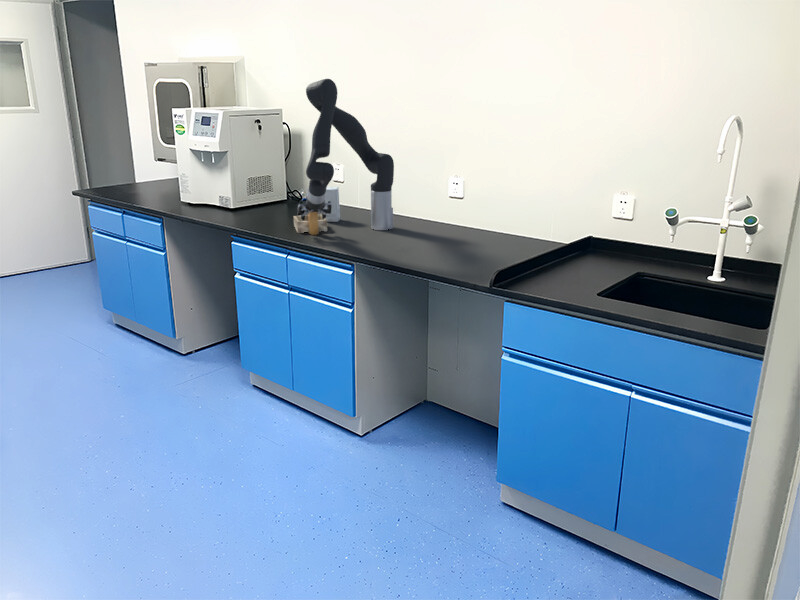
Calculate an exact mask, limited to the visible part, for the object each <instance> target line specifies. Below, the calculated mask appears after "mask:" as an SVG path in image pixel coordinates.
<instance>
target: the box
mask: <svg viewBox="0 0 800 600" xmlns="http://www.w3.org/2000/svg"><path fill="white" fill-rule="evenodd" d="M293 227H295V228H294V229H295V231H296V233H298V234H304V232H308V233H309V216H308V214H306V215H305V220H303V219H301V215H300V216H298V215H293ZM318 231H319V233H320V232H321V231H324V232H328V222H327V220H326V219H325V218H324V219H322V214H321V213H320V214H318ZM321 233H322V232H321Z"/></svg>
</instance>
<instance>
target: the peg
mask: <svg viewBox="0 0 800 600" xmlns="http://www.w3.org/2000/svg"><path fill="white" fill-rule="evenodd" d="M307 215H308V216H309V232H308V233H309V235H310V234H311V235H310V236H317V234H318V235H319V233H320V232H319V231H318V215H319V211H318V212H310V213H309V214H307Z"/></svg>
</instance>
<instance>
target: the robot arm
mask: <svg viewBox="0 0 800 600" xmlns="http://www.w3.org/2000/svg"><path fill="white" fill-rule="evenodd" d="M305 93H306V97H307V100H308V101H309V103H310V104H311V106H312V107H314V108H315V109H316V110H317V111H318V112H319V117H318V119H317V122H316V124H315V126H314V129H313V130H312V135H311V137H312V138H311V139H312V140H311V152H310V157H309V161H308V163H307V165H306V166H307V167H306V170H305V174H306V176H307V178H308V180H309V182H308V183H309V184H308V189H307V193H306V202H305V203H303V204H302V202H298V205H297V208H296V212H297V216H301V219H303V220H305V215H308V214H309V213H310V212H318V213H320V214H321V213H322V219H324V218H326V214H327V213H328V214H331V208H332V206H331V201H328V203H325V198H326V188H327V187H328V185H329V184H330V183H331V181H332V179H333V177H334V173H335V169H334V165H332V164H331V163H329V162H323V161H317V160H319V159H322V158H324V159H325V158H327V157H329V156H330V154H331V135H332V134H331V132H332V126H333V128H335V130H336V131H337V132H338V133H339V135H340V136H341V137H342V138H343V140H345V142H346V143H347V144H348V145H349V146H350V148H352V150H353V151H354V152H355V153H356V154H357V155H358V157H359V159H361V162H362V163H363V164H364V166H365V167H366V169H367V170H368V171H369V172H370V173H372V174H374V175H376V180H375V181H374V182H372V183H371V184H370V220H371V221H370V222H371V224H370V225H371V227H370V228H371V230H373V229H374V231H389V230H394V207H392V206H393V205H392V204H393V203H392V201H393V200H392V199H393V198H392V197H393V195H392V193H393V192H392V191H393V190H392V187H393V184H394V174H395V173H394V172H395V163H394V159H393V157H392V156H391V155H390V154H388V153H382V152H378V151H377V150H375V149H374V147H372V145H371V144H370V143H369V141H368V137H367V136H368V135H367V133H366V132H367V131H366V129H365V128H364V126H363V125H362V123H360V121H359V120H358V119H357V118H356V117H355V116H354V115H352V114H351V113H349V112H347V111H345V110H344V109H341V108H339V107H337V106H336V105H337V102H338V101H337V99H338V86H337V85H336V83H335V82H334V80H332V79H331V78H325V79H320V80H318V81H317V80H316V81H314V82H311V83H309V84H307V86H306V88H305ZM325 206H326V207H327V209H325V208H324V207H325ZM388 229H389V230H388Z"/></svg>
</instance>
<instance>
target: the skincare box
mask: <svg viewBox="0 0 800 600" xmlns="http://www.w3.org/2000/svg"><path fill="white" fill-rule="evenodd" d="M339 193H340V191H339V187H336V186H335V187H333V186H332V187H331V186H330V187H329V186H327V188H326V198H325V203H328V201H331V206H332V208H331V214H328V213H327V214H326V218H325V219H326V220H327V223H328V222H330V223H332V222H335V223H338V222H339V221H340V220H341V208H340V194H339ZM324 208H325V209H327V207H326V206H325V207H324ZM321 214H322V213H320V215H321Z"/></svg>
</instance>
